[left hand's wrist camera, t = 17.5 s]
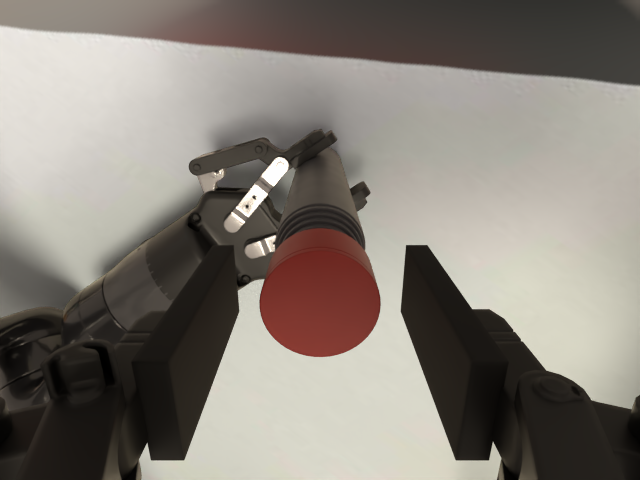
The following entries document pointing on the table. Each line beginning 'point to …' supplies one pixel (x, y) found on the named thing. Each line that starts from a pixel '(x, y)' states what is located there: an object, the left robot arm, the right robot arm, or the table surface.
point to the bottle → (320, 200)
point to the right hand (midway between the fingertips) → (349, 161)
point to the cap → (320, 293)
